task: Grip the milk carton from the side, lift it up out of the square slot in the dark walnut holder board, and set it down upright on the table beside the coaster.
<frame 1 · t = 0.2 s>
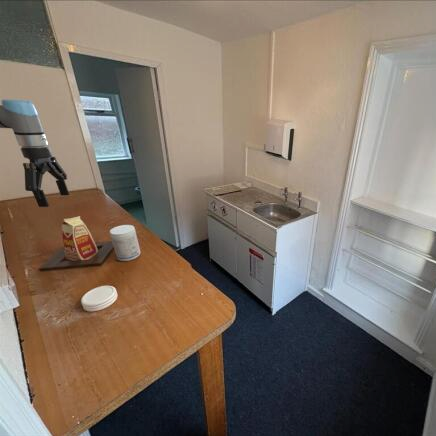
hand: (55, 200, 94), 29 cm above the table, tool pointing down, fingers open, 13 cm apart
milk carton: (83, 255, 109), resting in holder board
supplement tub: (129, 256, 111), on the table
coaster: (101, 302, 85), on the table
holder board: (83, 255, 109), on the table
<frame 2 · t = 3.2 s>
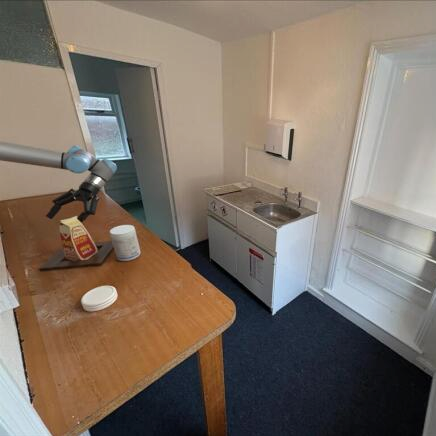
hand: (61, 221, 107), 15 cm above the table, tool tilted 55°, fingers open, 13 cm apart
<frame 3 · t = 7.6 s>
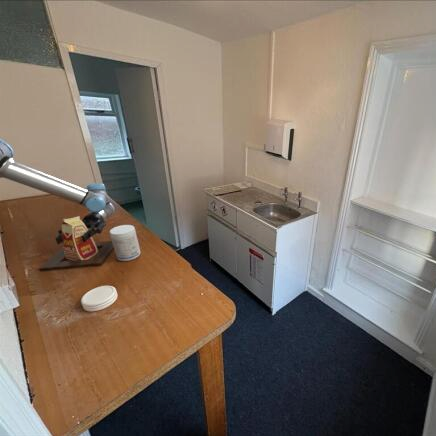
hand: (70, 240, 101), 11 cm above the table, tool horizontal, fingers closed on milk carton, 8 cm apart
milk carton: (83, 255, 109), resting in holder board, touching gripper
everything else where it was.
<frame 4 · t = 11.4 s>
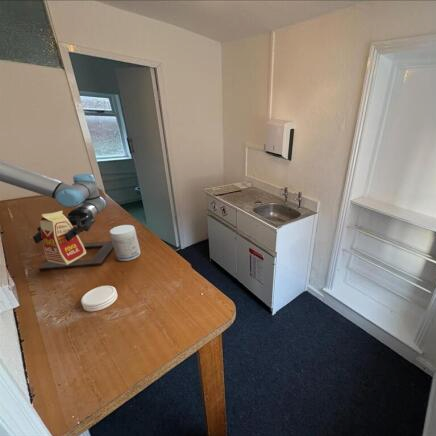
hand: (51, 238, 85), 20 cm above the table, tool horizontal, fingers closed on milk carton, 8 cm apart
milk carton: (69, 257, 94), point 9 cm above the table, touching gripper
everything else where it was.
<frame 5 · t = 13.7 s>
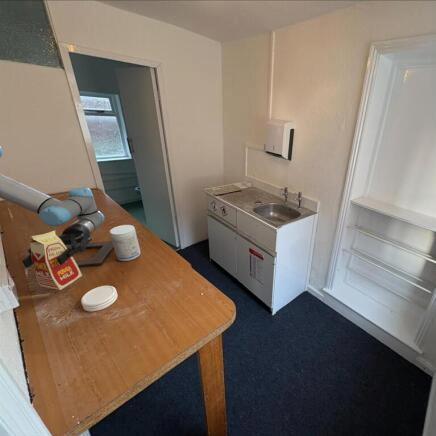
hand: (42, 262, 77), 17 cm above the table, tool horizontal, fingers closed on milk carton, 8 cm apart
milk carton: (62, 280, 86), point 5 cm above the table, touching gripper
everything else where it was.
when the fingers open (11 cm above the table, at t = 15.7 s): milk carton stays where it is, on the table.
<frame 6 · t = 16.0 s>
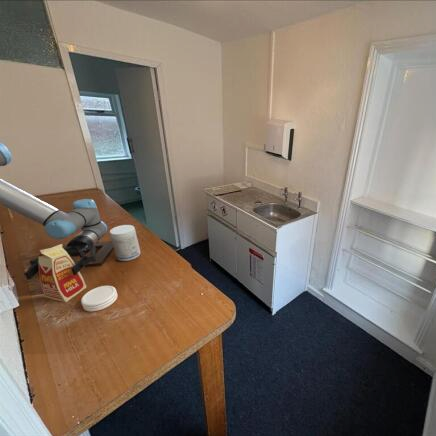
hand: (50, 274, 80), 11 cm above the table, tool horizontal, fingers open, 12 cm apart
milk carton: (67, 291, 88), on the table
everything else where it was.
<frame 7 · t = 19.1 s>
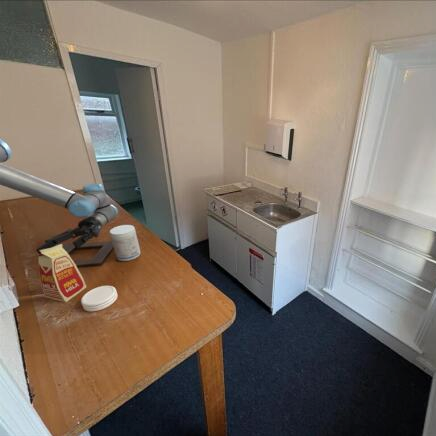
hand: (57, 249, 89), 14 cm above the table, tool horizontal, fingers open, 13 cm apart
nothing on the table moved.
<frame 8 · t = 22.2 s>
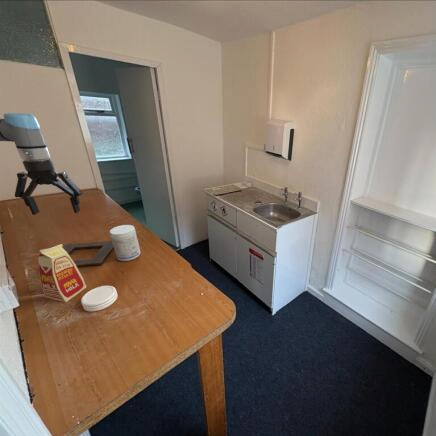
hand: (57, 212, 94), 25 cm above the table, tool pointing down, fingers open, 13 cm apart
nothing on the table moved.
at the end: milk carton inside the target area (0.3 cm from its centre), on the table; milk carton 16.3 cm from the coaster (horizontally); milk carton tilted 0° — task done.
